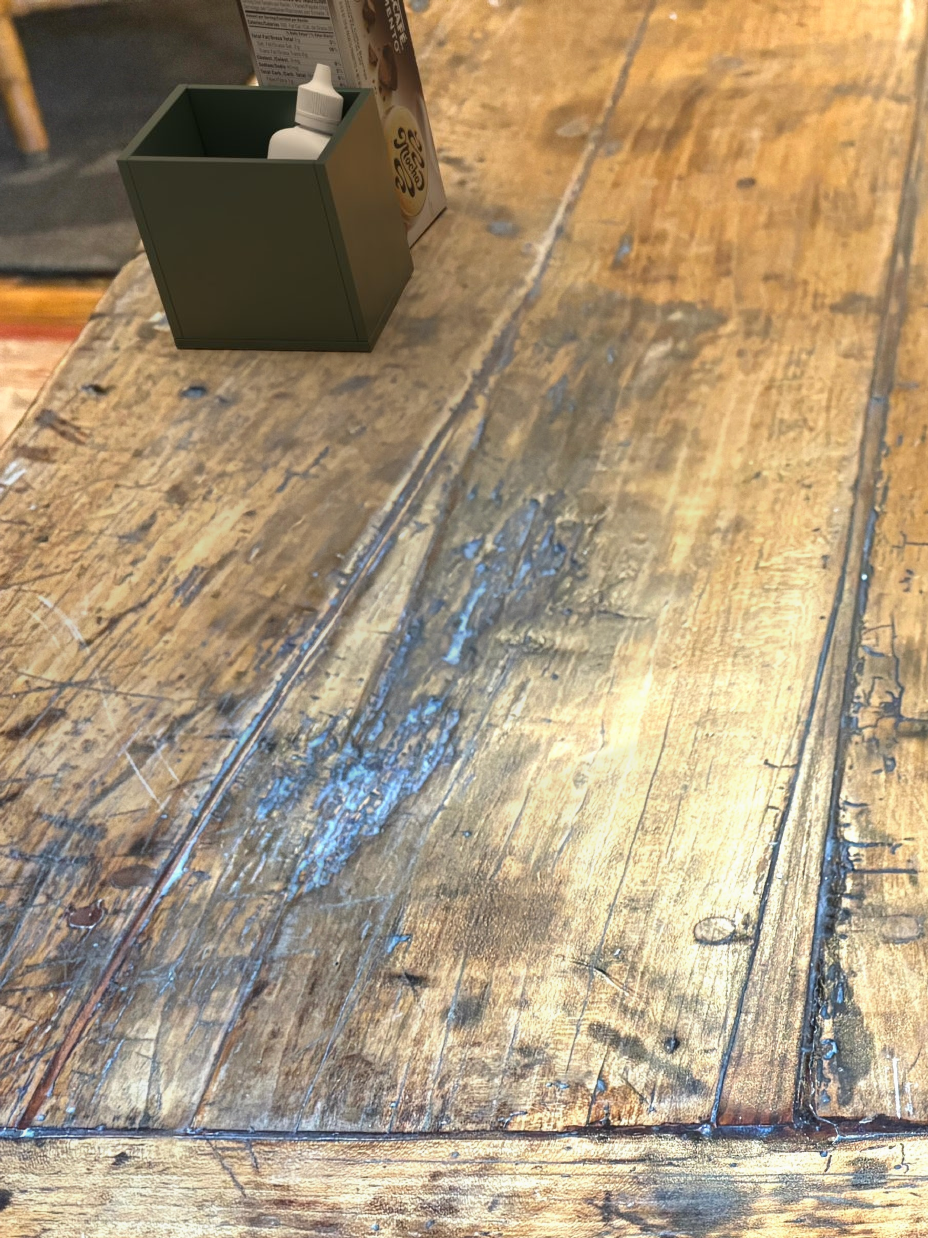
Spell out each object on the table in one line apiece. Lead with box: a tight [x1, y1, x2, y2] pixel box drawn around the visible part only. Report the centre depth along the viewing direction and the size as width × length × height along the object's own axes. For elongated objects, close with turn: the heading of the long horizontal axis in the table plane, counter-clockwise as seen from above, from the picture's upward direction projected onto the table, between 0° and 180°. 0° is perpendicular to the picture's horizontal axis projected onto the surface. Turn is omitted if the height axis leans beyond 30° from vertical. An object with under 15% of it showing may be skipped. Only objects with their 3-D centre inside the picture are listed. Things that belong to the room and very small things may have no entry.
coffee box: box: [235, 0, 448, 249], centre depth 120 cm, size 9×6×16 cm
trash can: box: [115, 83, 415, 353], centre depth 115 cm, size 11×11×11 cm
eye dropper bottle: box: [267, 64, 343, 160], centre depth 115 cm, size 4×6×12 cm
